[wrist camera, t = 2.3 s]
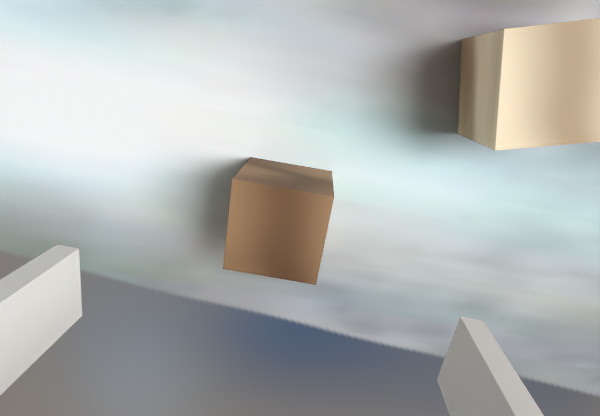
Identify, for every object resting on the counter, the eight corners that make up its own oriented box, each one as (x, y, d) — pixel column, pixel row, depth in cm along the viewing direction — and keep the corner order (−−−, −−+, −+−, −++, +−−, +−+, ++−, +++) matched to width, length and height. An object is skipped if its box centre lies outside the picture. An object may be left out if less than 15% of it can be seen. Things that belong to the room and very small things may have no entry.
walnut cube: (242, 230, 24) (223, 268, 20) (250, 157, 23) (232, 179, 18) (317, 244, 24) (315, 284, 20) (331, 170, 23) (333, 196, 18)
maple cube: (457, 133, 21) (495, 150, 17) (461, 39, 20) (504, 28, 15) (548, 125, 21) (612, 140, 16) (559, 28, 19) (635, 14, 15)
